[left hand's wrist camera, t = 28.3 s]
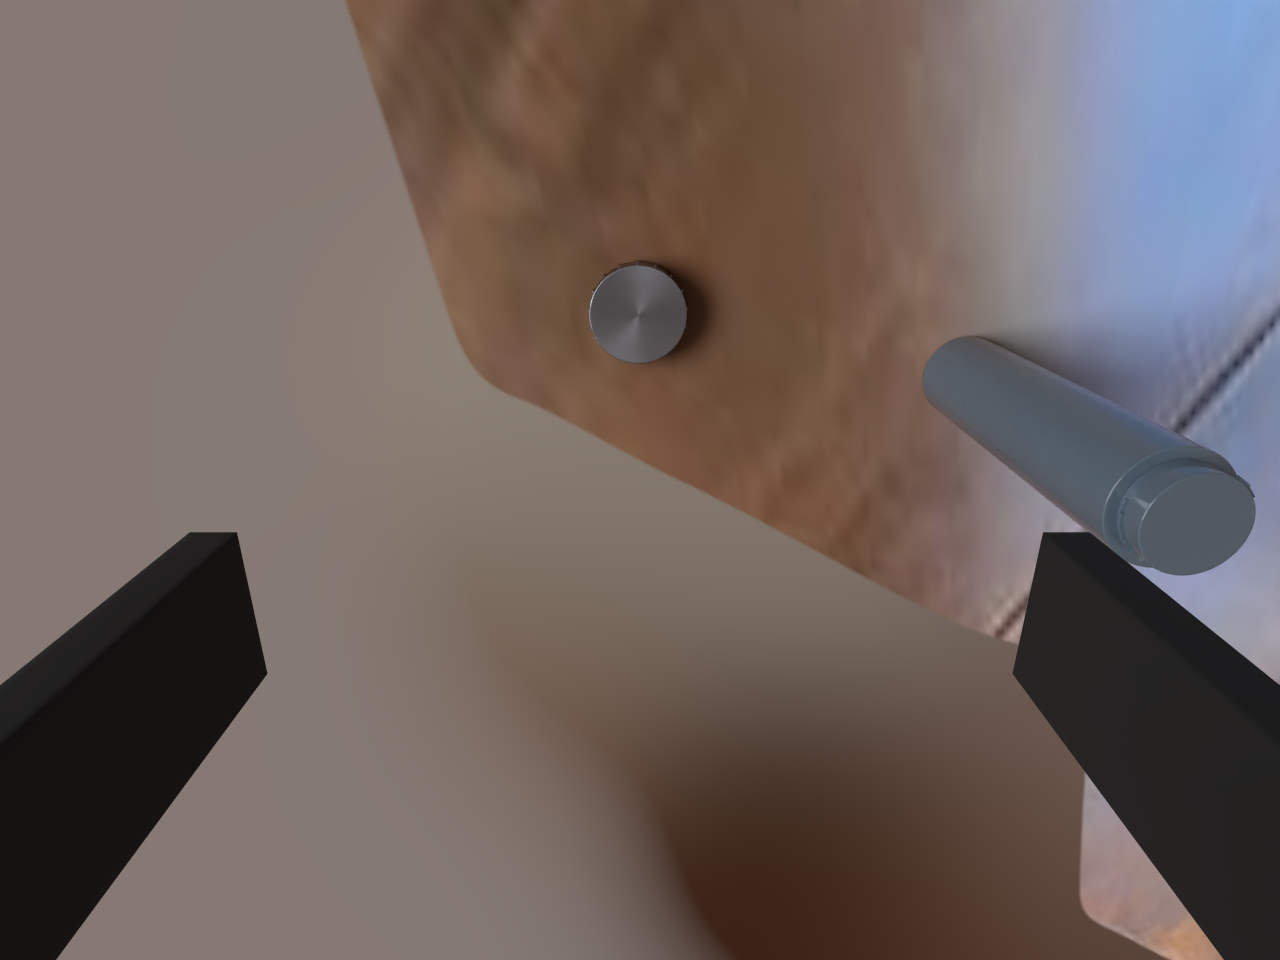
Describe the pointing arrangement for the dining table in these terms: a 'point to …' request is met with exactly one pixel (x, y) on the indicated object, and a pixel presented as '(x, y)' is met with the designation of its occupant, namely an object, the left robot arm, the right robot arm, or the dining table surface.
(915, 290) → the dining table surface
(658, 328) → the lid
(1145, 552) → the dark grey cylinder
